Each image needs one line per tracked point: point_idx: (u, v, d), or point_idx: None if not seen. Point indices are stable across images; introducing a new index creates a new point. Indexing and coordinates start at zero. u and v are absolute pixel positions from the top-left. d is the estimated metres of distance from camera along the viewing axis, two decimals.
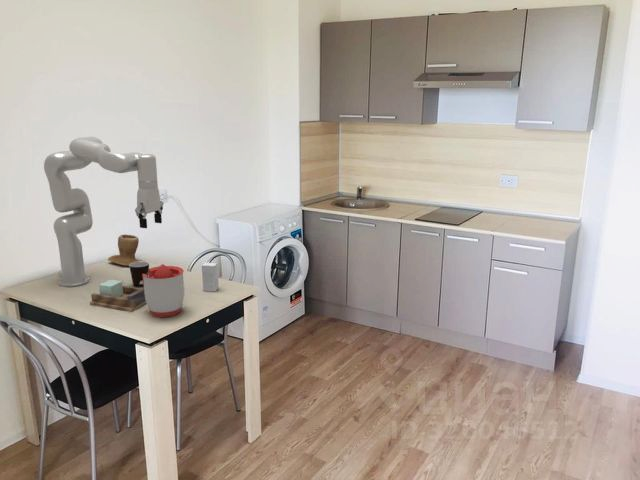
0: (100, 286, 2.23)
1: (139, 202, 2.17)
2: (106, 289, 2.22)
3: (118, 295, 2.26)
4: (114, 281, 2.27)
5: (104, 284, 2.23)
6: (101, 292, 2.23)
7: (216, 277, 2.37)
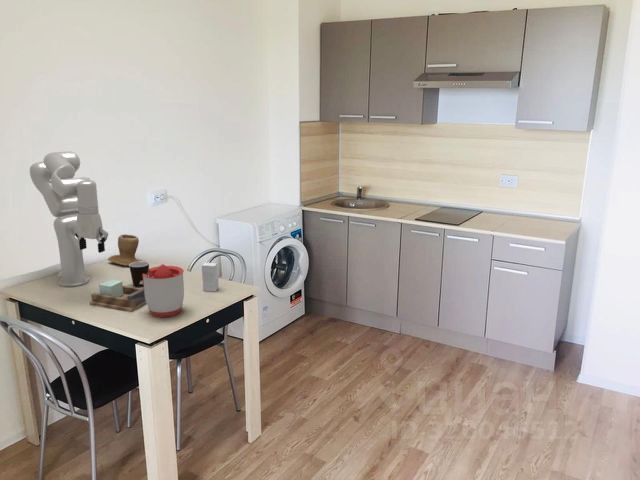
0: (100, 286, 2.23)
1: (98, 227, 2.20)
2: (106, 289, 2.22)
3: (118, 295, 2.26)
4: (114, 281, 2.27)
5: (104, 284, 2.23)
6: (101, 292, 2.23)
7: (216, 277, 2.37)
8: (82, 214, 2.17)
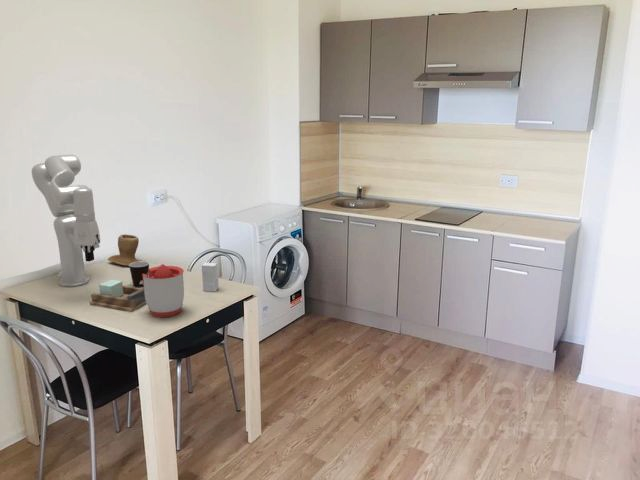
0: (100, 286, 2.23)
1: (95, 234, 2.20)
2: (106, 289, 2.22)
3: (118, 295, 2.26)
4: (114, 281, 2.27)
5: (104, 284, 2.23)
6: (101, 292, 2.23)
7: (216, 277, 2.37)
8: (79, 221, 2.18)
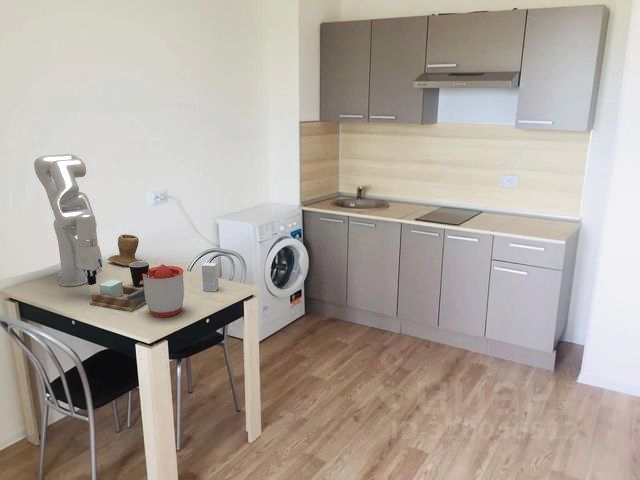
0: (100, 286, 2.23)
1: (97, 259, 2.23)
2: (106, 289, 2.22)
3: (118, 295, 2.26)
4: (114, 281, 2.27)
5: (104, 284, 2.23)
6: (101, 292, 2.23)
7: (216, 277, 2.37)
8: (81, 246, 2.21)
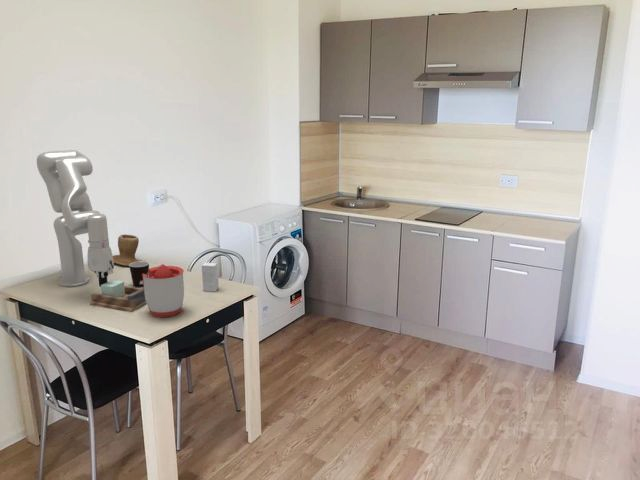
0: (101, 287, 2.22)
1: (108, 260, 2.21)
2: (107, 289, 2.21)
3: (120, 295, 2.25)
4: (116, 281, 2.26)
5: (106, 284, 2.23)
6: (103, 292, 2.23)
7: (216, 277, 2.37)
8: (93, 248, 2.19)
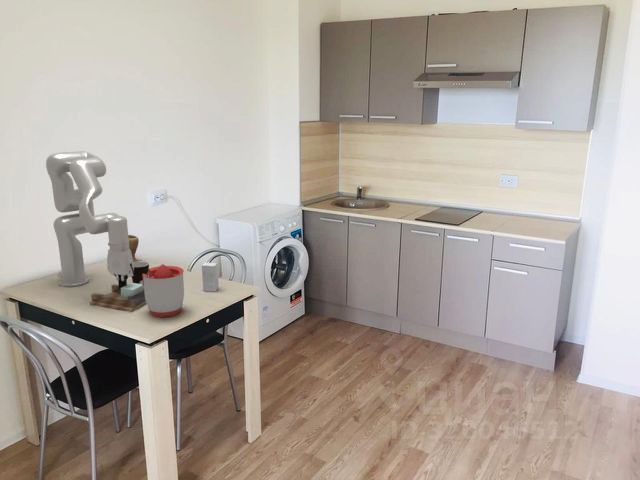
0: (121, 290, 2.19)
1: (129, 264, 2.18)
2: (127, 292, 2.18)
3: None
4: (136, 284, 2.23)
5: (126, 287, 2.19)
6: (123, 296, 2.19)
7: (216, 277, 2.37)
8: (113, 251, 2.15)
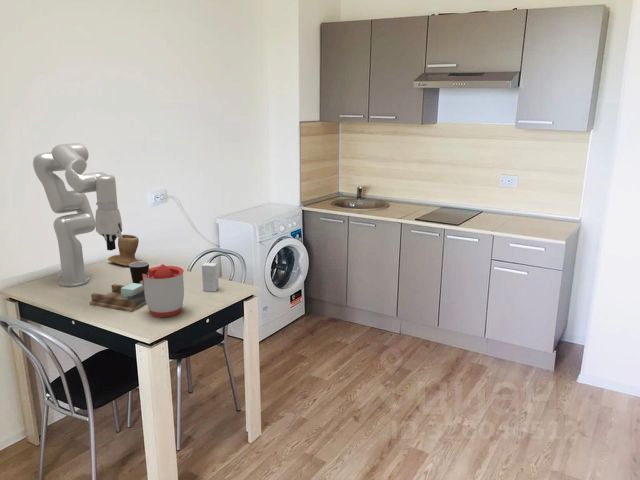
0: (121, 290, 2.19)
1: (117, 223, 2.15)
2: (127, 292, 2.18)
3: None
4: (136, 284, 2.23)
5: (126, 287, 2.19)
6: (123, 296, 2.19)
7: (216, 277, 2.37)
8: (101, 209, 2.13)
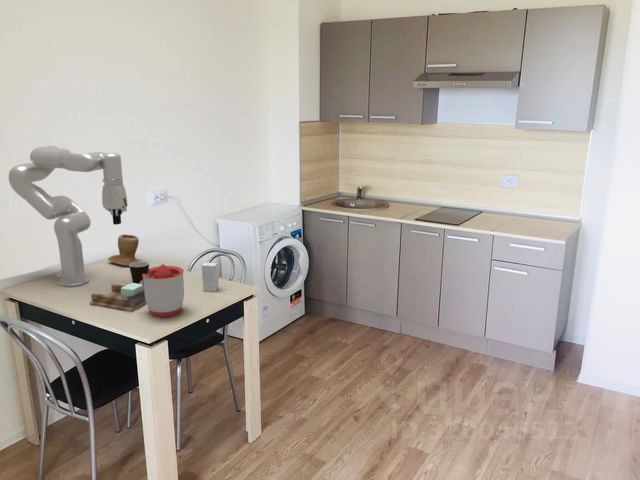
0: (121, 290, 2.19)
1: (123, 198, 2.30)
2: (127, 292, 2.18)
3: None
4: (136, 284, 2.23)
5: (126, 287, 2.19)
6: (123, 296, 2.19)
7: (216, 277, 2.37)
8: (108, 185, 2.27)
